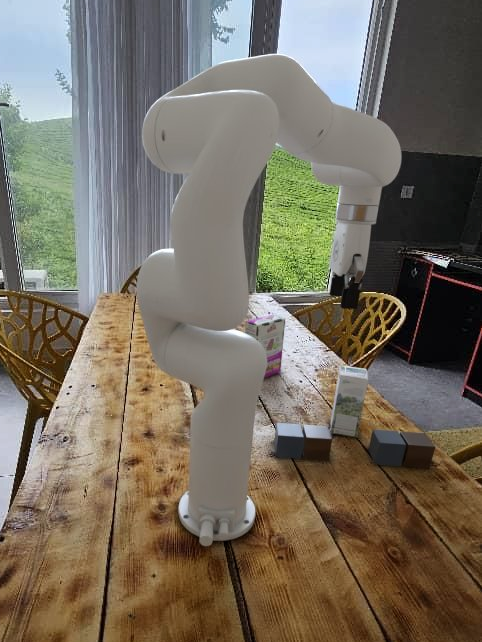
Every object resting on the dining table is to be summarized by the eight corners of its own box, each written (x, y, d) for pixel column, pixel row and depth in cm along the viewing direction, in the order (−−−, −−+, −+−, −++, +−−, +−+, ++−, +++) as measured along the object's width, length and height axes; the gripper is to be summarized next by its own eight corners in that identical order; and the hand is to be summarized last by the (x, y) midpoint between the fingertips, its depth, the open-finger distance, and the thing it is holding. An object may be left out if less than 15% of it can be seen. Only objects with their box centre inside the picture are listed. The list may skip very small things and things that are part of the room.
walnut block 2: (429, 468, 87) (435, 446, 85) (403, 466, 87) (408, 444, 85) (420, 454, 91) (425, 433, 90) (395, 452, 92) (400, 431, 90)
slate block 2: (401, 466, 87) (406, 444, 85) (375, 464, 87) (379, 442, 86) (392, 451, 92) (397, 431, 90) (368, 450, 92) (372, 429, 90)
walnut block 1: (328, 460, 88) (332, 439, 86) (303, 459, 88) (306, 437, 86) (324, 446, 93) (327, 426, 91) (300, 445, 93) (303, 424, 91)
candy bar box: (267, 367, 131) (273, 313, 125) (280, 372, 128) (286, 318, 122) (240, 376, 125) (245, 320, 119) (253, 382, 121) (258, 325, 115)
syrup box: (356, 425, 101) (367, 367, 96) (357, 439, 96) (368, 378, 90) (330, 421, 102) (339, 363, 97) (329, 434, 97) (340, 374, 92)
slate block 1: (300, 458, 88) (303, 437, 86) (275, 456, 89) (278, 435, 87) (297, 444, 93) (300, 424, 91) (273, 443, 93) (276, 422, 91)
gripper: (326, 210, 93) (316, 291, 99) (347, 217, 77) (333, 312, 83) (363, 212, 93) (350, 292, 99) (391, 219, 76) (373, 314, 83)
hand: (342, 301), depth 91 cm, fingers open, 9 cm apart
